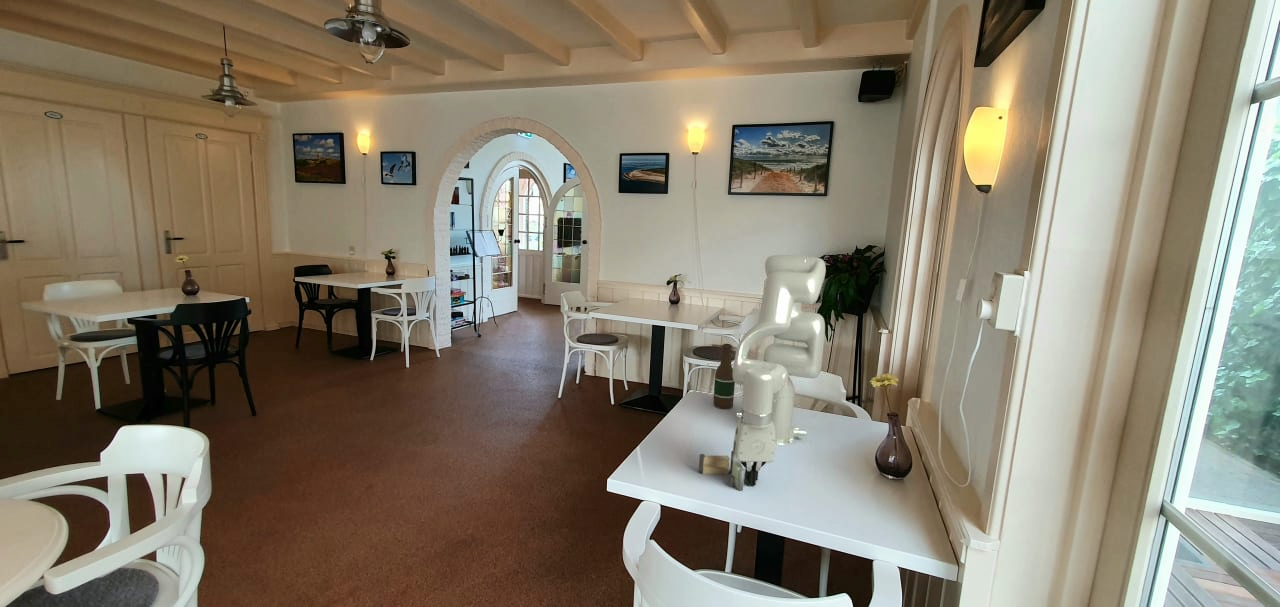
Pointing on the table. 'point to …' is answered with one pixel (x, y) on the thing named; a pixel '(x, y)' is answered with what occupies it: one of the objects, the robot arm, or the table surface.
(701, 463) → the wooden bar grey posts
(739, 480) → the hinged panel
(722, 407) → the beer bottle
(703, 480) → the table surface
